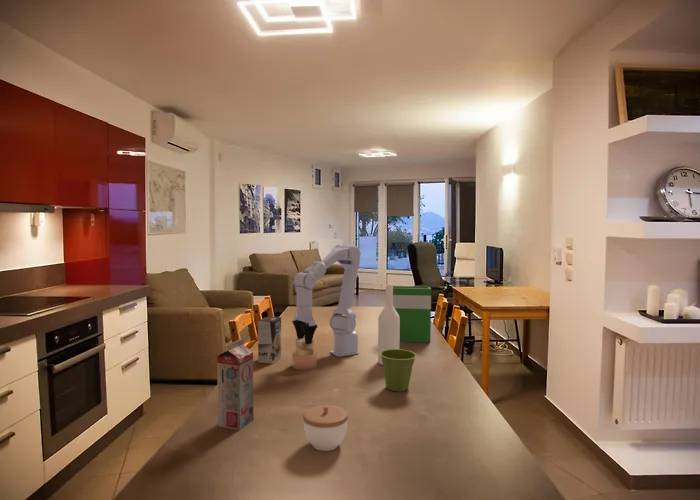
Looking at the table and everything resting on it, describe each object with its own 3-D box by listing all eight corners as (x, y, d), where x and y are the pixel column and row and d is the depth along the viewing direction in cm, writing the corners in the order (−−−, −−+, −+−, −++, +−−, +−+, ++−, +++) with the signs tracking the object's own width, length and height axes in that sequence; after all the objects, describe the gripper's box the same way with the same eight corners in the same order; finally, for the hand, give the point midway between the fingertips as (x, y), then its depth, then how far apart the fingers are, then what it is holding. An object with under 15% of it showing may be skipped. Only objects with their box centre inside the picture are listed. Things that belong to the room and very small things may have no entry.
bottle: (402, 361, 179) (403, 284, 178) (395, 367, 172) (396, 286, 170) (382, 358, 183) (383, 282, 181) (374, 364, 175) (375, 285, 174)
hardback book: (390, 341, 210) (391, 288, 208) (390, 337, 217) (391, 285, 216) (430, 342, 208) (431, 289, 207) (429, 338, 215) (429, 286, 214)
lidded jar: (303, 435, 117) (303, 398, 116) (346, 434, 118) (346, 397, 117) (302, 456, 106) (302, 416, 106) (349, 455, 107) (349, 415, 107)
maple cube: (308, 350, 176) (308, 337, 176) (313, 354, 172) (313, 340, 171) (295, 352, 174) (295, 339, 173) (300, 355, 169) (300, 342, 169)
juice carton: (253, 419, 126) (252, 339, 125) (240, 430, 120) (239, 345, 118) (232, 416, 128) (231, 337, 127) (218, 426, 122) (217, 343, 121)
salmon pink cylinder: (311, 361, 179) (311, 348, 179) (320, 368, 171) (320, 354, 171) (288, 364, 175) (288, 351, 175) (297, 371, 167) (297, 358, 167)
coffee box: (273, 364, 175) (273, 321, 174) (257, 362, 176) (257, 320, 175) (281, 357, 184) (281, 316, 183) (266, 356, 185) (266, 316, 184)
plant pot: (392, 397, 143) (392, 361, 142) (372, 385, 153) (372, 351, 152) (423, 391, 148) (424, 356, 147) (402, 379, 159) (403, 347, 158)
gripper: (287, 302, 176) (287, 338, 177) (301, 309, 163) (301, 347, 164) (304, 301, 179) (304, 336, 180) (320, 307, 167) (320, 344, 167)
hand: (304, 341), depth 172 cm, fingers open, 7 cm apart
